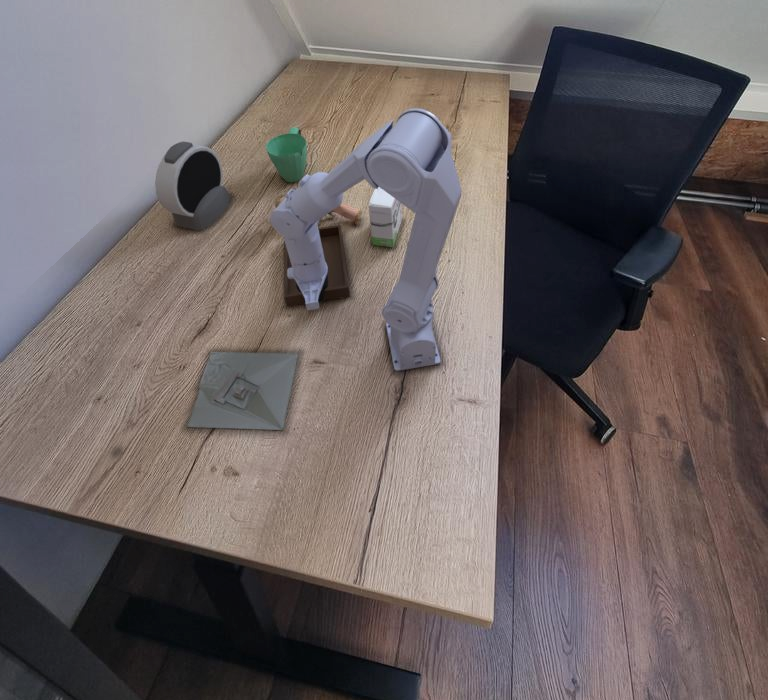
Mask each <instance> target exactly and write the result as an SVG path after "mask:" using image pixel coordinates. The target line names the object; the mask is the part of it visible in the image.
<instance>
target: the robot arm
mask: <svg viewBox="0 0 768 700" xmlns="http://www.w3.org/2000/svg"><path fill="white" fill-rule="evenodd" d="M394 121H395V120H394V119H392V120H390V121H388V122H386V123H385V124H384V125H382V126H381V127H380V128H378V129H377V130H376V131H375V132H374V133H372V134H371V135H369V136H368V137H366V138H365V139H364V140H363V141H362V142H361V143H360V144H359V145H357V147H355V149H353V150H352V151H351V152H350V153H349V154H348V155H347V156H346V157H344V159H343V160H342V161H340V162H339V163H338V164H337V165H336V166H335V167H333V169H332V170H331V171H329V172H325V171H318V172H314V173H313V174H312V175H309V174H308V173H306V174H305V175H303V177H302V179H301V180H299V181H298V187H297V188H296V189H293V188H291V189H290V190H288V191H287V192H286V194H284V195H285V197H286V198H285V199H284V200H283V201H282V202H281V203H280V204H279V205H278V207H277V208H276V207H275V209H273V210H272V211H271V214H270V216H269V222H270V225H271V226H272V227H273V229H274V230H275V231H276V232H277V233H278V234H280V236H282V237H283V240H284V241H285V244H286V248H287V251H288V255H289V258H290V261H291V265H292V268H288V269H287V276H288V278H289V279H295V281H296V287H297V290H298V291H299V292H301V293H302V294H303V296H304V298H305V308H306V310H307V311H314V310H319V309H320V303H323V302H324V301H323V300H324V291H325V289H326V288H327V287H328V273H327V272H328V267H327V264H326V262H325V258H324V254H323V249H322V244H321V239H320V234H319V230H318V228H319V225H318V224H319V223H320V221H319V220H321V219H323V218H324V217H325V216H327V215H329V214H328V213H330V212H331V211H332V210H334V209H335V208H337V207H338V206H339V205H340V204H341V202H342V203H343V200H344V193H345V192H347V191H348V190H350V189H352V188H353V187H355V186H356V185H358V184H359V183H361V182H362V181H364V180H365V181H366V183H368V184H369V185H370V187H371V188H372V189H373V190H374V189H378V187H380V188H381V189H383V190H384V191H385V192H387V193H388V194H390V195H391V196H392V197H394V198H395V199H396V200H398V201H399V202H400V203H401V205H403V206H405V208H407V209H408V210H410V211H411V212H413V213H414V219H413V222H412V227H411V231H410V234H409V238H408V242H407V245H406V246H407V247H406V251H405V254H404V259H403V263H402V266H401V271H400V274H399V278H398V281H397V282H396V285H395V286H394V289H393V290H392V291H391V294H390V296H389V297H388V300H387V302H386V304H385V305H383V307H382V309H381V315H382V317H383V319H384V320H385V322H386V323H385V326H386V333H387V337H388V344H389V348H390V349H389V350H390V353H391V360H392V365H393V369H394V371H395V372H398V371H399V372H400V371H405V370H411V369H416V368H423V367H428V366H435V365H439V364H440V363H441V357H440V353H439V349H438V346H437V342H436V338H435V333H434V330H433V322H434V303H433V299H432V298H433V297H434V295H435V292H436V290H437V289H438V287H439V281H440V280H439V278H438V276H437V273H438V269H439V268H438V265H439V262H440V259H441V256H442V253H443V250H444V246H445V244H446V242H447V238H448V235H449V233H450V230H451V227H452V223H453V221H454V219H455V215H456V212H457V209H458V206H459V204H460V202H461V201H460V200H461V198H462V186H461V182H460V179H459V175H458V172H457V167H456V164H455V162H454V157H453V154H452V133H450V132H449V130H448V129H447V128H446V127H445V125H444V124H443V122H442V121H440V119H439V118H438V117H437V116H436V115H435V114H434V113H433V112H430V111H428V110H427V109H423V108H418V107H417V108H416V107H415V108H409V109H407V110H405V111H403V112H401V114H400V115H399V116H398V118H397V119H396V121H395V124H394Z"/></svg>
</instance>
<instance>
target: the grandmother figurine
mask: <svg viewBox="0 0 768 700" xmlns="http://www.w3.org/2000/svg"><path fill="white" fill-rule="evenodd" d="M364 211H365V209H364V208H361V209H358V208H355V207H352V206H350V205H347V204H346V205H345V204H343V201H342V202H341V204H340V205H339V206H338V207H337V208H335V209H334V210H332V211H331V212H330V213H328V214H327V215H329V216H330V217H332V218H334V217H336V214H338V215H339V216H341V217H343V218H346V219H347V220H349V221H351V222H354V224H355V226H357V225H358V223H359V221H360V220H361V218H362V215H363V213H364Z"/></svg>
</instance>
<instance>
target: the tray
mask: <svg viewBox="0 0 768 700" xmlns="http://www.w3.org/2000/svg"><path fill="white" fill-rule="evenodd" d="M318 230H319V234H320V239H321V244H322V249H323V254H324V258H325V262H326V264H327V267H328V272H327V273H328V287H327V288H326V289H325V291H324V300H323V302H324V301H330V300H337V299H343V298H348V297H349V298H350V297H351V294H350V293H351V292H350V285H349V278H348V270H347V261H346V253H345V246H344V238H343V230H342V225H341V224H336V225H328V226H321V227H318ZM283 243H284V244H283V245H284V246H283V298H284V301H285V305H286V307H292V306H299V305H304V304H305V298H304V296H303V294H302V293H301V292H299V291H298V290H297V287H296V281H295V279H289V278H288V276H287V269H288V268H292V265H291V261H290V258H289V255H288V251H287V248H286V244H285V241H284V242H283ZM305 305H306V304H305Z"/></svg>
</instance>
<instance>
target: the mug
mask: <svg viewBox="0 0 768 700" xmlns="http://www.w3.org/2000/svg"><path fill="white" fill-rule="evenodd" d="M307 150H308V143H307V140H306V138H305V137H304V136H303V135H302V133H301V129H300V128H298V127H296V126H292V127H290V128H289V130H288V133H281V134H277V135H276V136H274V137H272V138H270V139H269V140H268V141H267V143H266V145H265V151H266V153H267V155H268V157H269V159H270V161H271V163H272V164H273V167H274V168H275V170H276V172H278V174H279V175H280V176H281V178H283V179H284V180H285V182H287V183H297V182H299V181H300V180H301V179H302V178H303V177H304V173H305V169H306V165H307V154H308V151H307Z"/></svg>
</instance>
